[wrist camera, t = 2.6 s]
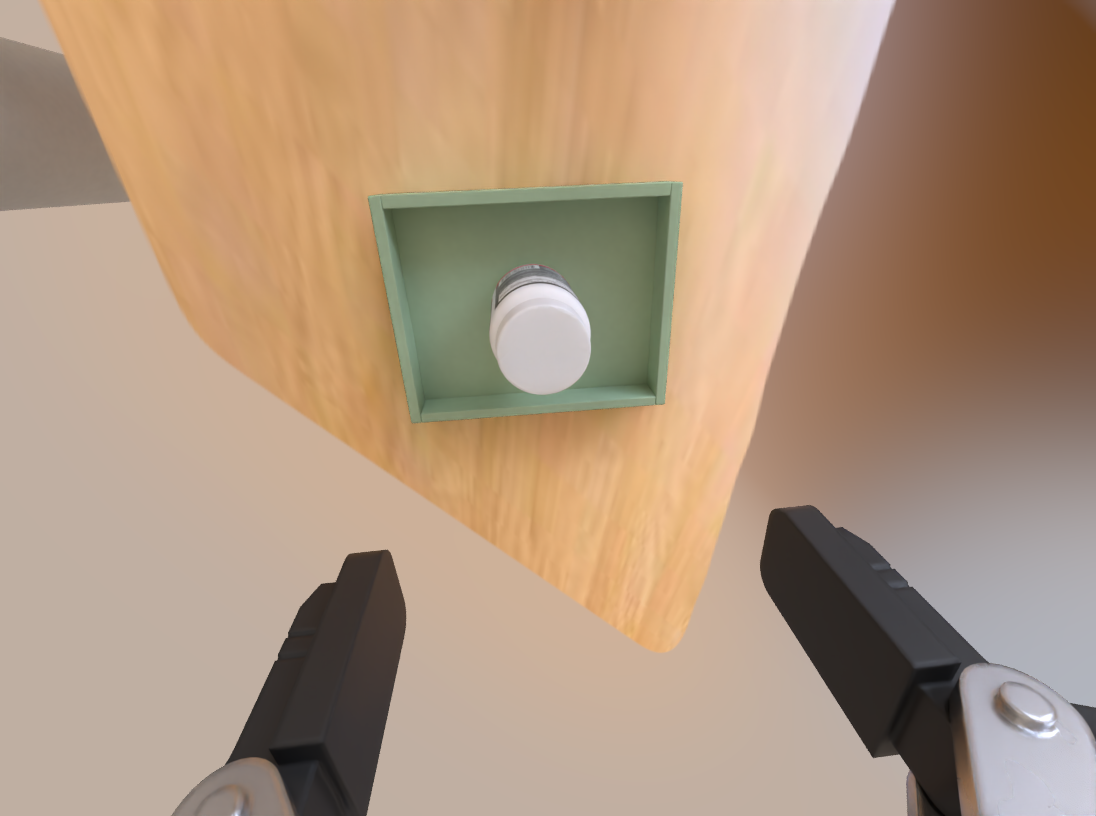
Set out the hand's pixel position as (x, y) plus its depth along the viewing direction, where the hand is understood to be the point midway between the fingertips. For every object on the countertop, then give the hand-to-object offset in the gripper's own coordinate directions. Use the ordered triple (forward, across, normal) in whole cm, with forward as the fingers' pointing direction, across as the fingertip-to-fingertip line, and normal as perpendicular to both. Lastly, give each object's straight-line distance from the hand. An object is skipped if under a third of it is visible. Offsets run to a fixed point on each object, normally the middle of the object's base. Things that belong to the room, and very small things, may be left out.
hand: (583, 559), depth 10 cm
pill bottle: (+20, 0, -1) cm, 20 cm away
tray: (+20, 0, -1) cm, 20 cm away
